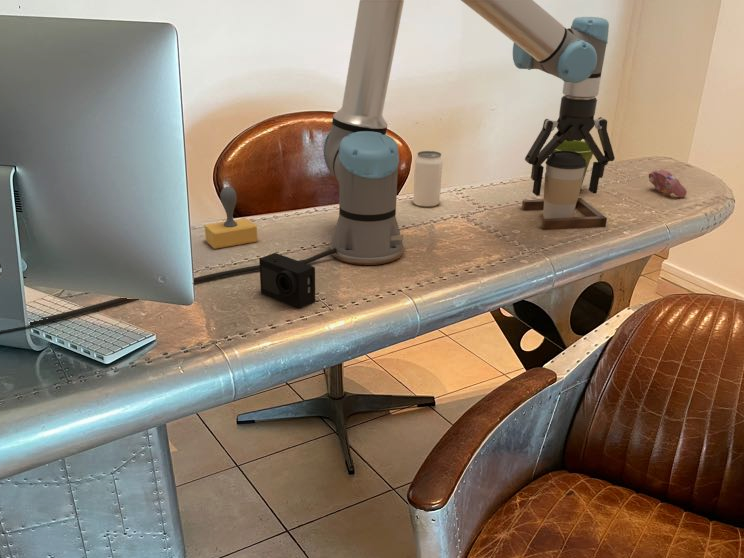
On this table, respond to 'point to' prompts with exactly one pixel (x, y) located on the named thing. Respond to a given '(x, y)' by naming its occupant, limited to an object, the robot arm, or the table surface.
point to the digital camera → (287, 280)
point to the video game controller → (667, 183)
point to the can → (427, 179)
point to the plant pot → (577, 150)
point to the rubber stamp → (230, 225)
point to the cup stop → (591, 220)
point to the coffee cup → (562, 183)
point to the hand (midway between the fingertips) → (564, 193)
